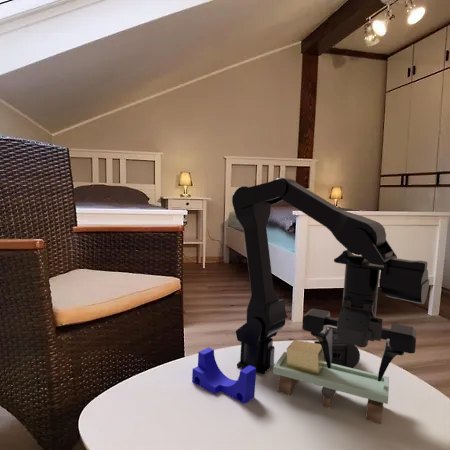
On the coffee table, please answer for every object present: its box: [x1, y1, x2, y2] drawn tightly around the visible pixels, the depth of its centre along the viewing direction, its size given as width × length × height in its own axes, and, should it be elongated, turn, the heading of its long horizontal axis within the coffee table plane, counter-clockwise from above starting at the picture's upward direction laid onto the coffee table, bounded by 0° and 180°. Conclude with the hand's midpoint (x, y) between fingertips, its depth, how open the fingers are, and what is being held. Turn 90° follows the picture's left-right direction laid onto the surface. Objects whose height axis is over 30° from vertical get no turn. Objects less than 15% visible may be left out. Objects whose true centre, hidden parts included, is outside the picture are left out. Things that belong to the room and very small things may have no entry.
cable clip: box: [191, 347, 257, 405], centre depth 70 cm, size 12×4×6 cm, turn 50°
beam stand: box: [277, 375, 384, 425], centre depth 69 cm, size 18×7×4 cm, turn 63°
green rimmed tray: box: [273, 351, 390, 405], centre depth 69 cm, size 20×7×2 cm, turn 65°
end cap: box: [313, 329, 361, 369], centre depth 84 cm, size 10×7×7 cm
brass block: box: [286, 339, 324, 375], centre depth 71 cm, size 6×5×4 cm
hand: (353, 373), depth 67 cm, fingers open, 8 cm apart
